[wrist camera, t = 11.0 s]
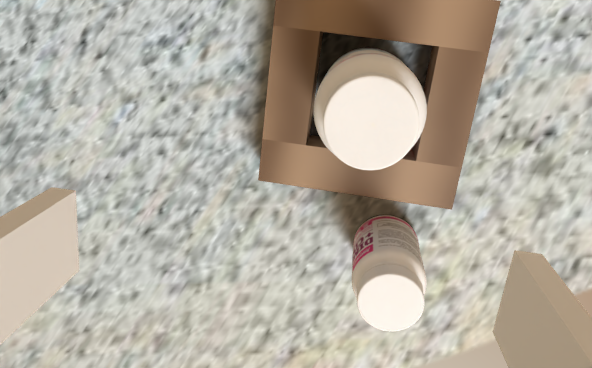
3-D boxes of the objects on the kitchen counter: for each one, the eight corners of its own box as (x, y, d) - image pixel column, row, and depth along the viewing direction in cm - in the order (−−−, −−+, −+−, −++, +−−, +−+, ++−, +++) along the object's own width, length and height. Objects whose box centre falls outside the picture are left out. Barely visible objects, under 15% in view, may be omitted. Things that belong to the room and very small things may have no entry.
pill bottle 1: (384, 150, 36) (394, 206, 25) (307, 109, 36) (285, 150, 25) (430, 72, 34) (462, 99, 23) (349, 28, 34) (344, 36, 23)
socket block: (266, 167, 37) (258, 180, 35) (285, -22, 33) (278, -26, 30) (444, 194, 36) (451, 209, 34) (488, 2, 32) (500, 1, 29)
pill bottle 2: (359, 208, 38) (358, 260, 30) (423, 219, 37) (440, 275, 29) (347, 265, 39) (344, 329, 31) (409, 276, 39) (422, 344, 31)
